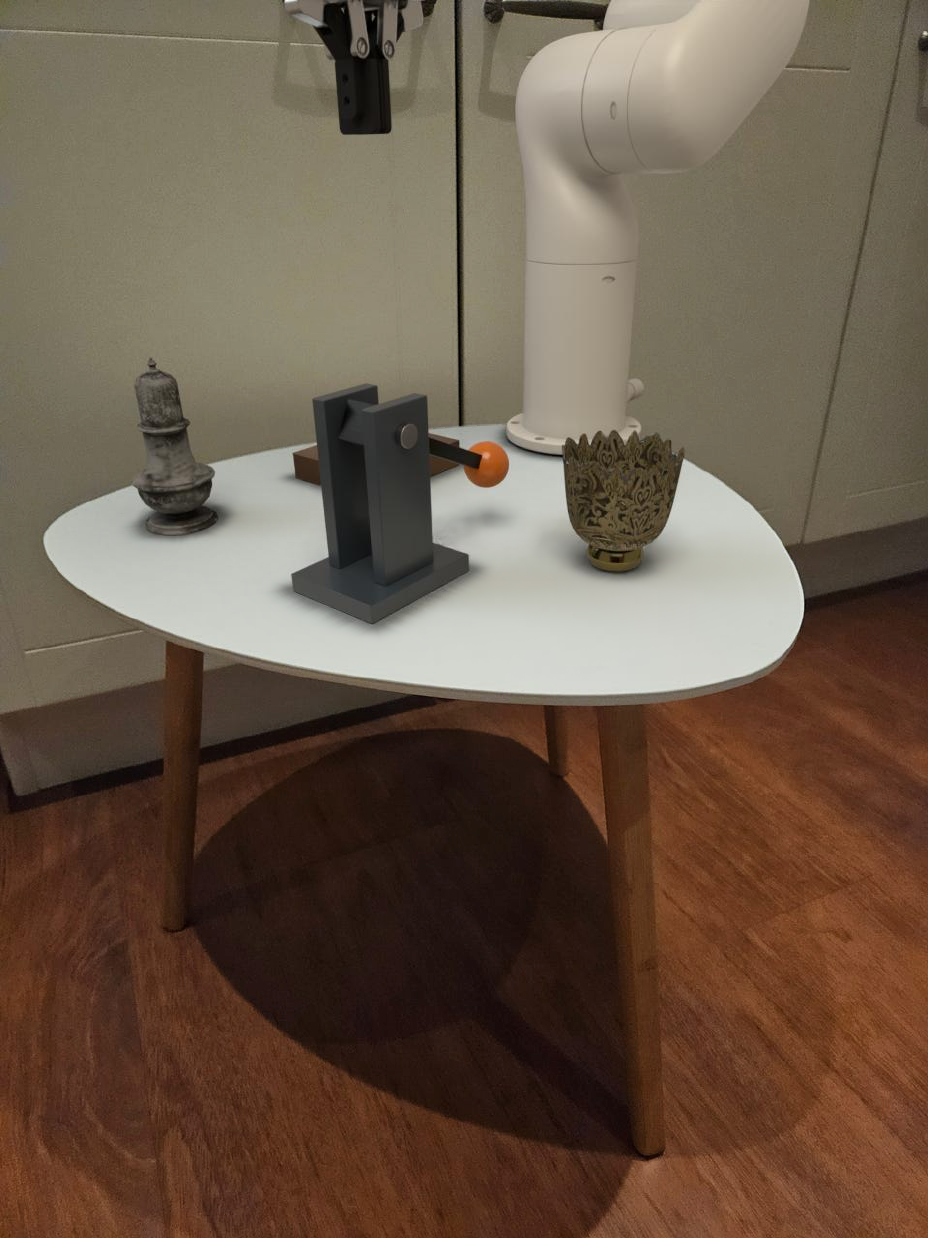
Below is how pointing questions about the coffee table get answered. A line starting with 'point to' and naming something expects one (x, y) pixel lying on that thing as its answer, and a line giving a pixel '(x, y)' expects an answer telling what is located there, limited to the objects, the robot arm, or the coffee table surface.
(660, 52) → the robot arm
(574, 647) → the coffee table surface
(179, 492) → the salt shaker
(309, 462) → the brown block
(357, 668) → the coffee table surface
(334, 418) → the switch bracket
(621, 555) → the cup
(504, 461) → the switch lever
